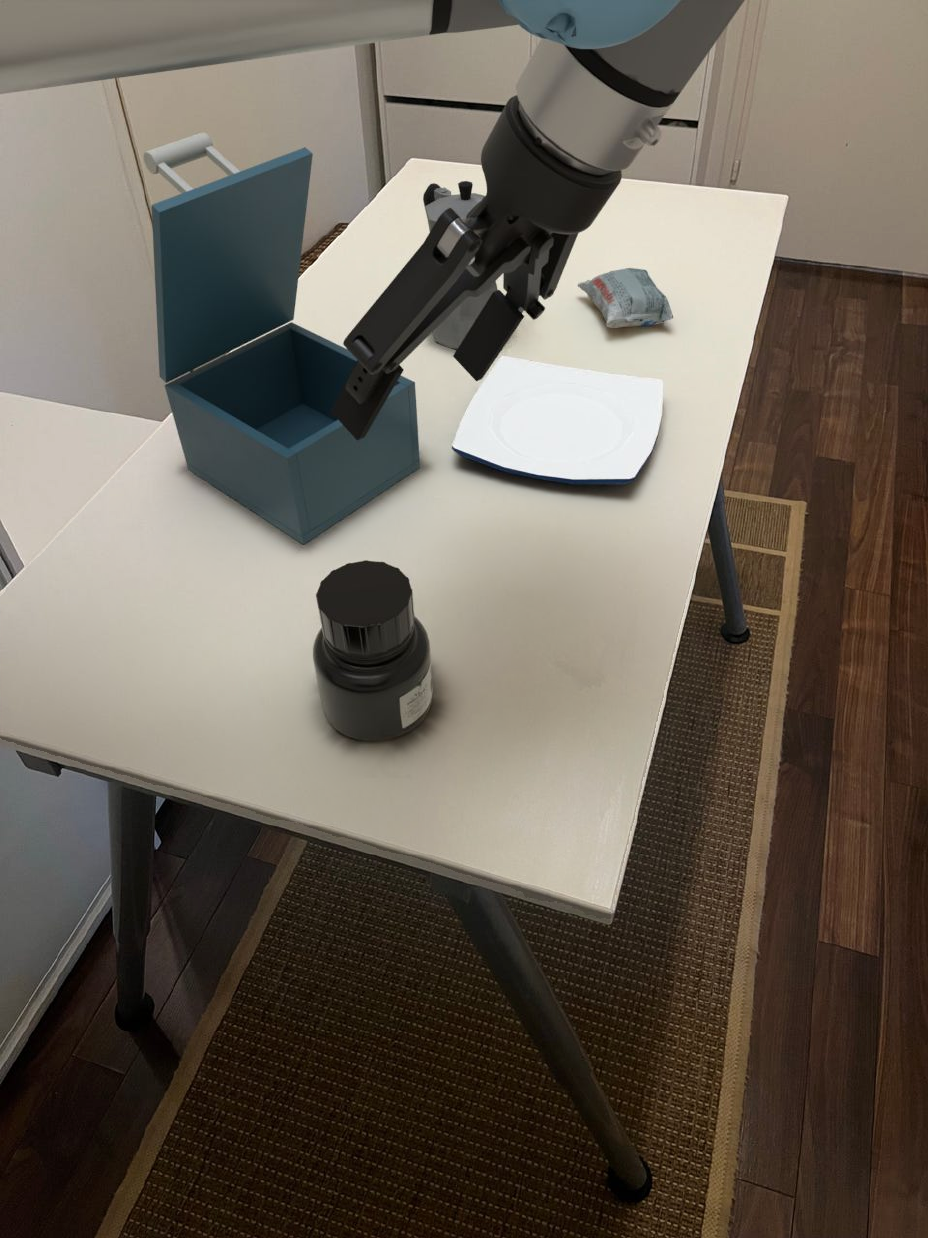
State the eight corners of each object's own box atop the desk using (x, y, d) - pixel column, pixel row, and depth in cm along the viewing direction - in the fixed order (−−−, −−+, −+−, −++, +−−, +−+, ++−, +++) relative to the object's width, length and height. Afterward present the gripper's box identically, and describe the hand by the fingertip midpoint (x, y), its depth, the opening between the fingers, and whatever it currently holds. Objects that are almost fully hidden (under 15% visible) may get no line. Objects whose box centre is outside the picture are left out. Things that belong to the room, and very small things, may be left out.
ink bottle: (440, 741, 71) (434, 635, 62) (324, 755, 70) (302, 649, 62) (426, 649, 78) (418, 541, 69) (320, 661, 77) (300, 553, 68)
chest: (420, 467, 95) (415, 381, 88) (303, 545, 87) (287, 458, 80) (304, 404, 104) (291, 321, 97) (188, 469, 96) (164, 384, 89)
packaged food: (604, 343, 112) (608, 304, 108) (575, 297, 120) (579, 260, 117) (672, 335, 113) (679, 297, 110) (639, 291, 121) (644, 254, 118)
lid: (313, 153, 80) (246, 95, 82) (159, 212, 72) (88, 146, 74) (293, 319, 96) (238, 268, 98) (166, 383, 88) (107, 325, 90)
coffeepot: (529, 343, 112) (535, 191, 99) (463, 366, 109) (461, 212, 96) (461, 293, 121) (459, 148, 108) (399, 313, 118) (388, 165, 105)
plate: (670, 397, 104) (674, 376, 102) (638, 508, 90) (641, 486, 88) (495, 370, 108) (496, 350, 106) (439, 472, 95) (439, 451, 93)
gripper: (485, 219, 42) (325, 496, 58) (712, 151, 58) (540, 381, 74) (376, 105, 43) (248, 409, 58) (631, 69, 59) (477, 314, 75)
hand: (411, 394), depth 66 cm, fingers open, 13 cm apart
